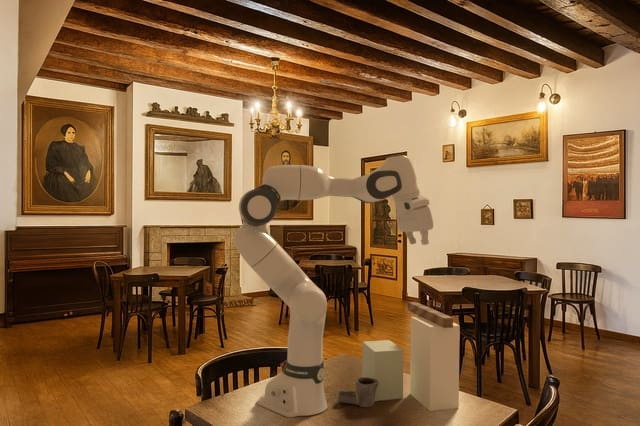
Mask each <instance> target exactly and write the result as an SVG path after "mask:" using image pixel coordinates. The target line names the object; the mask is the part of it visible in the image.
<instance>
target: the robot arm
mask: <svg viewBox="0 0 640 426" xmlns="http://www.w3.org/2000/svg"><path fill="white" fill-rule="evenodd" d="M391 196H392V198H393V202H394V206H395V209H396V212H395V218H396V222H397V224H396V225H397V228H398V230H399V231H400V232H401V233H403V232H404V233H405V236H406V237H407V240H408V241H409V242H408V243H409V244H410V245H415V244H417V240H416V238H415V237H414V234H413V233H414V232H419V234H420V235H421V239H420V242H421V245H423V246H426V245H429V244H430V240H429V231H431V230H432V229H434V221H433V216H432V211H431V209H430V207H429V205H430V200H429V198H428V197H425V196H424V195H422V193H421V190H420V189H419V186H418V184H417V176H416V173H415V169H414V167H413V164H412V161H411V159H410V157H408V156H406V155H404V154H403V155H401V154H398V155H391V156H389V157H388V156H387V157H386V158H385V160H384V161H383V162H382V163H381V164H380V165H379V166H378V167H376V169H374V170H373V171H371V172H370V173H366V174H363V175H361V176H359V177H356V178H349V177H347V178H346V177H336V176H335V177H334V176H330V175H327V174H326V173H325V172H324V171H323V169H321V168H320V167H316V166H313V165H304V164H282V165H281V164H280V165H273V166H269V167H267V169H266V170H265V171H264V173H263V175H262V182H261V185H260V186H257V187H256V188H254V189H250V190H248V191H246V192H245V193H244V194H243V195H242V196H241V197H240V200H239V203H238V211H239V215H240V220H241V226H240V227H239V228H238V229H237V230H236V232H235V233H234V236H233V240H232V241H233V245H234V246H235V247H234V248H235V249H236V250H237V252H238V253H239V254H240V256H241V257H242V258H243V260H244V261H245V262H246V264H248V266H249V267H250V268H251V269H252V270H253V271H254V272H255V273H256V275H258V277H260V279H261V280H262V281H263V282H264V283H265V284H266V285H267V286H268V287H269V288H270V289H271V290H272V291H273V292H274V293H275V294H276V295H277V296H278V298H280V299H281V300H282V301H283V302H284V303H285V305H287V306H288V308H289V325H288V334H287V357H286V358H287V359H286V360H284V361H283V362H281V363H280V367H279V368H282V366H284V368H283V371H282V370H281V372H279V373H278V374H276V375H275V376H274V377H273V378H271V379H270V380H269V381H268V382H267V383H266V385H265V389H264V393H263V394H262V395H260V396H259V397H258V399H257V402H256V404H257V405H258V406H261V407H263V408H265V409H268V410H270V411H272V412H275V413H277V414H279V415H282V416H284V417H286V418H295V417H298V416H299V417H301V416H302V417H304V416H313V415H318V414H320V413H322V412H324V411H326V409H327V408H328V404H327V400H326V395H325V388H324V377H325V376H324V375H325V366H324V365H325V363H324V360H323V353H324V352H323V351H324V350H323V347H324V345H323V344H324V341H323V340H324V330H325V324H326V317H327V309H328V301H327V297H326V295H325V293H324V291H323V290H321V288H319V286H317V285H316V283H314V282H313V281H312V280H311V279H310V278H309V277H308V275H307V274H306V273H305V272H304V271H303V270H302V268H300V266H299V265H298V264H297V263H296V262H295V260H294V259H293V258H292V257H291V256H290V255H289V253H287V252H286V251H285V249H284V248H283V247H282V246H281V245H280V244H279V243H278V241H276V239H274V237H273V236H272V235H271V234H270V232H269V231H268V229H267V227H268V226H267V225H268V224H269V223H270V222H271V221H272V220H273V219H275V216H276V214H277V211H278V207H279V205H280V202H281V201H287V200H289V201H290V200H292V201H312V200H318V199H321V198H326V197H344V198H346V197H347V198H354V199H356V200H358V201H360V202H361V203H365V204H374V203H377V202H380V201H383V200H386V199H388V198H390V197H391Z"/></svg>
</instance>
